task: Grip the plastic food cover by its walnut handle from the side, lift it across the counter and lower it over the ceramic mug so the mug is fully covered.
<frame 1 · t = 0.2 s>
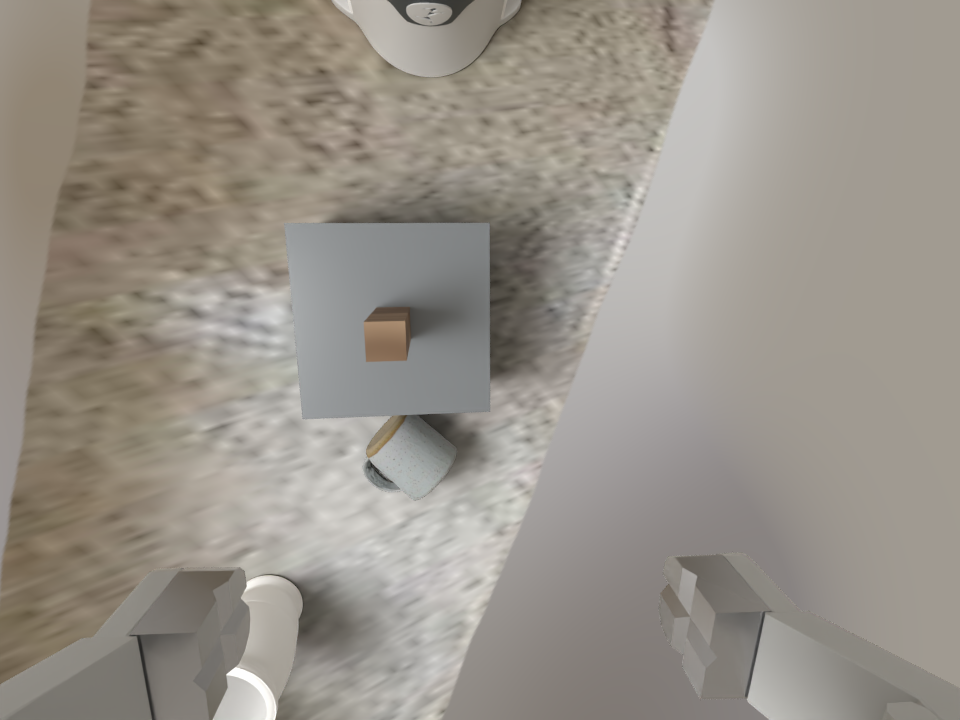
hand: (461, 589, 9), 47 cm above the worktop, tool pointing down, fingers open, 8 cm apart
food cover: (400, 309, 55), on the worktop
jar: (270, 601, 62), on the worktop
ceramic mug: (406, 448, 59), on the worktop
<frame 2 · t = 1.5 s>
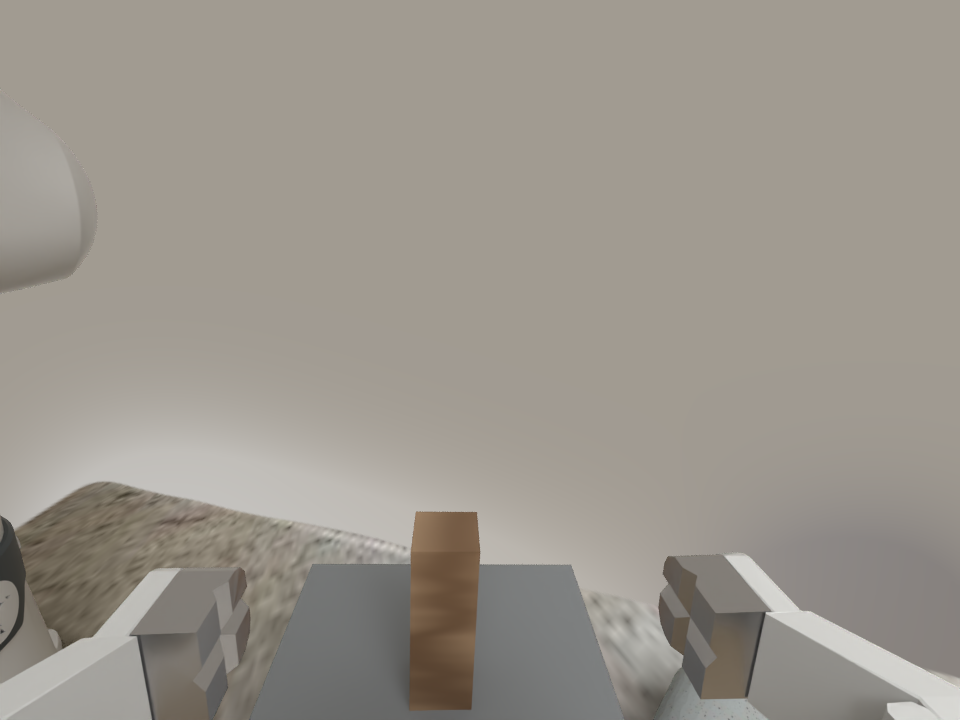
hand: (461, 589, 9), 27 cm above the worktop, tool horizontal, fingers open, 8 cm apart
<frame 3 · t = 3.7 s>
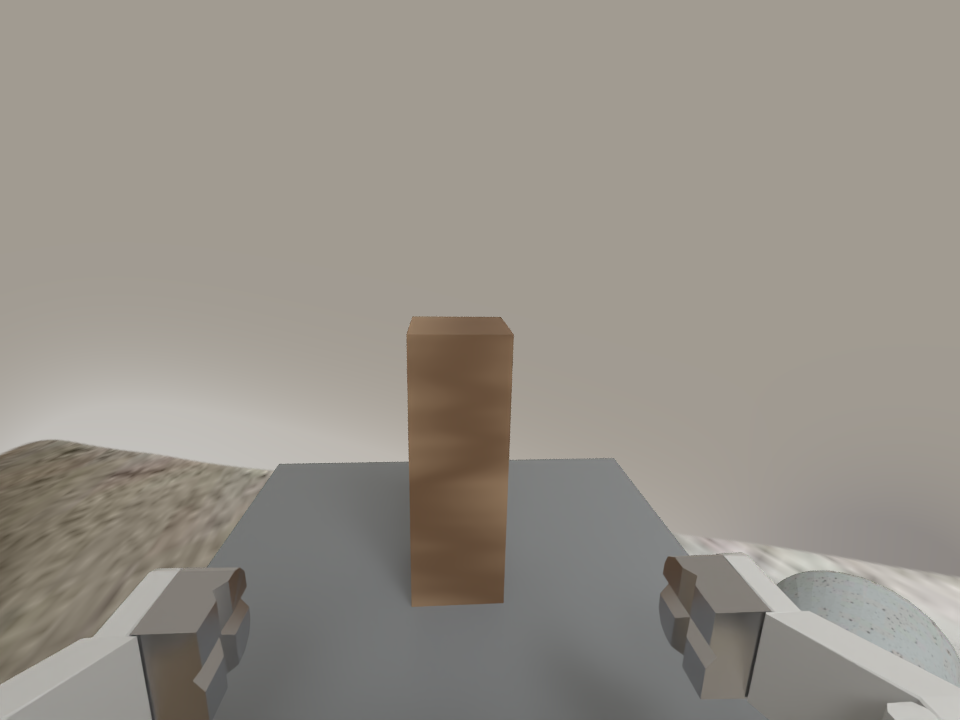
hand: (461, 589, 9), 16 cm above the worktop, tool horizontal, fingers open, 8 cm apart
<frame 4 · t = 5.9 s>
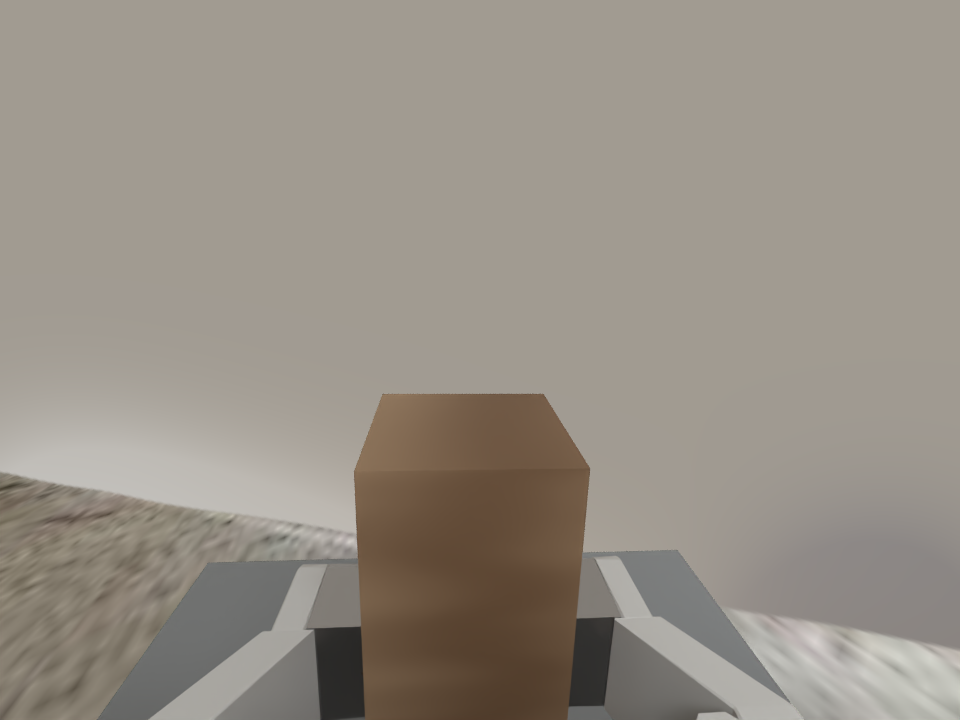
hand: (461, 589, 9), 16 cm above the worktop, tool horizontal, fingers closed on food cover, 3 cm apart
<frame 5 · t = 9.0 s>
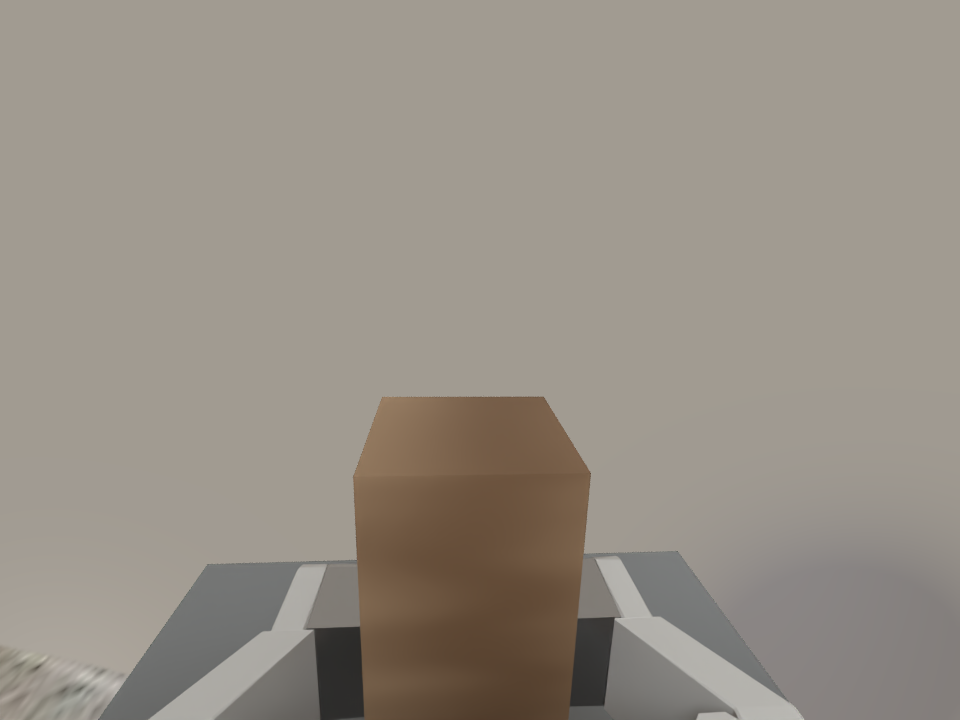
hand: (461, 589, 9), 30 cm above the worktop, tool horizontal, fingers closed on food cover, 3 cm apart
when the fingers open (17 cm above the worktop, at t = 12.4 s): food cover drops 1 cm, on the worktop.
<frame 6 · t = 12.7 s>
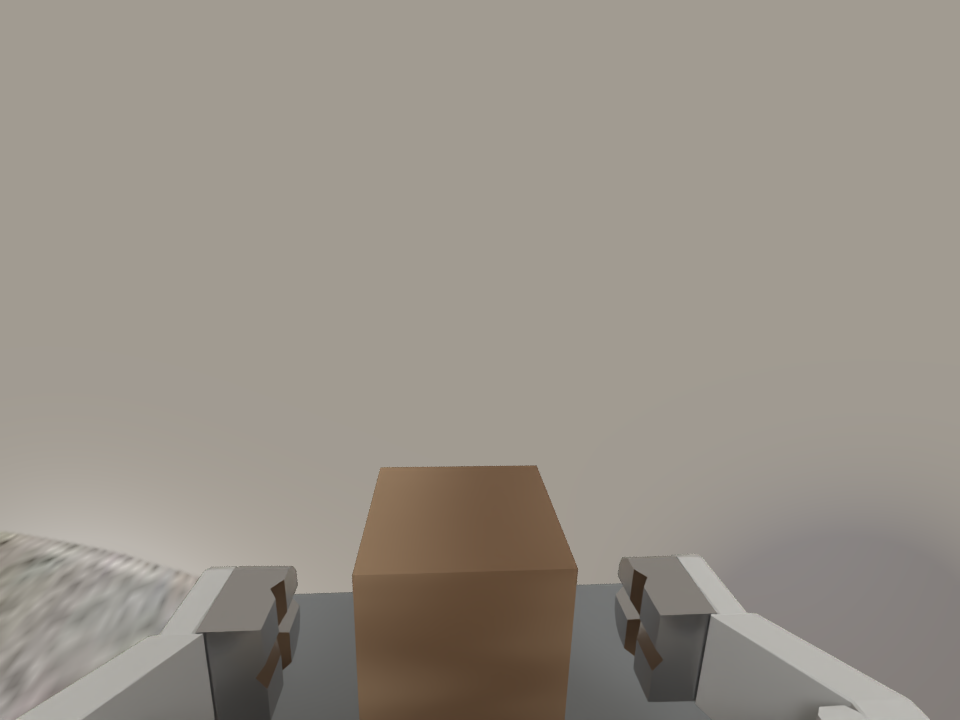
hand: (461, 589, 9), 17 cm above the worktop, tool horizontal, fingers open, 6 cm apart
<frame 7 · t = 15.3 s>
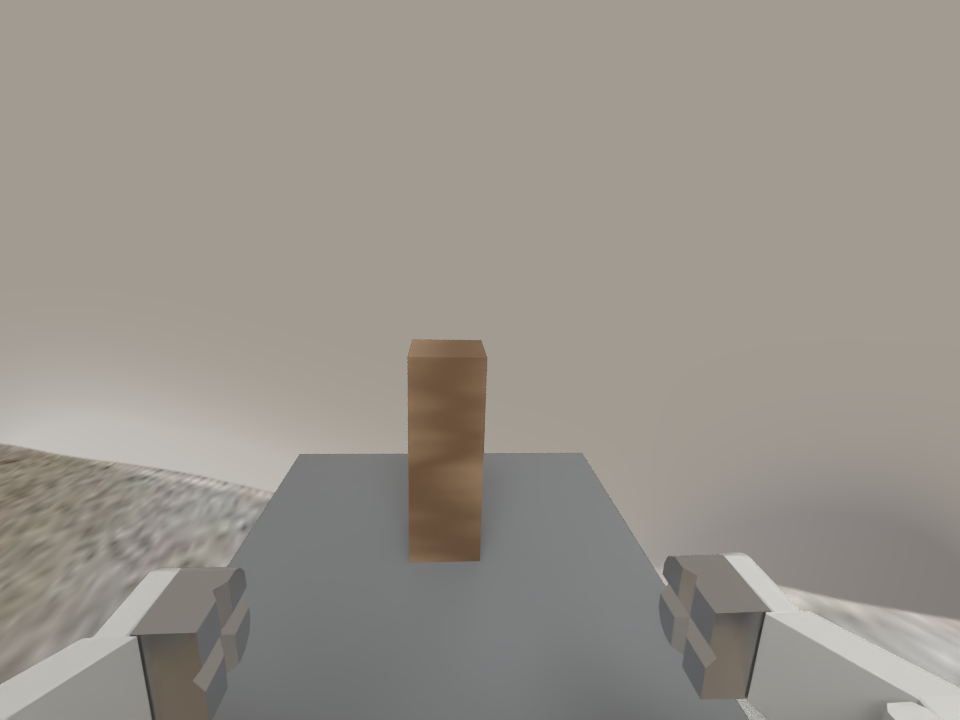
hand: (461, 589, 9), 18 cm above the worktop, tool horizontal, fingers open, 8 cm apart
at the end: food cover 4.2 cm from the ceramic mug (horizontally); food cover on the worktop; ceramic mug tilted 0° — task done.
